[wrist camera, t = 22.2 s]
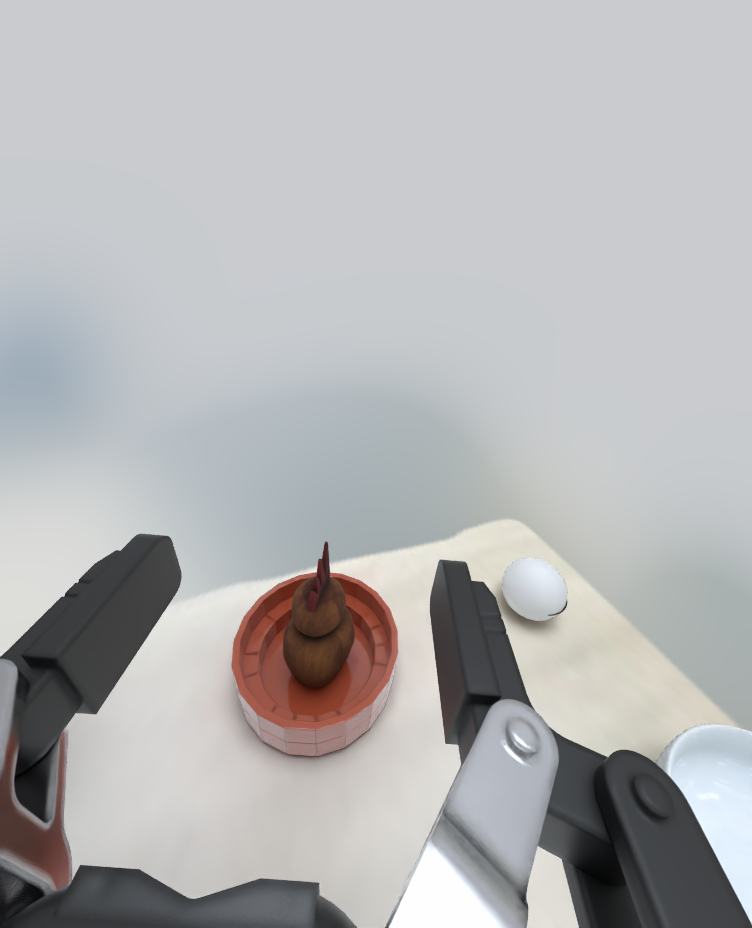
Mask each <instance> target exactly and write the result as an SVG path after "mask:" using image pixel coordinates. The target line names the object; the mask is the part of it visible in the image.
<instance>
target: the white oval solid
mask: <svg viewBox="0 0 752 928" xmlns="http://www.w3.org/2000/svg"><path fill="white" fill-rule="evenodd" d="M502 591H503V594H504V597H505V599H506V601H507V603H508V605H509V606H510V607H511V608H512V609H513V610H514V611H515V612H516V613H518V614H519V615H521V616H523V617H525V618H527V619H530V620H534V621H545V620H549V619H551V618H554V617H556V616H557V615H558V614H560V613H561V612H563V611H564V610H565V608H566V606H567V594H568V592H567V587H566V583H565V580H564V578H563V577H562V575H561V574H560V573H559V571H558V570H557V569H556V568H555V567H554V566H553V565H551V564H550V563H548V562H546V561H544V560H541V559H537V558H522V559H519V560H517V561H515V562H513V563H512V564H511V565H510V566H509V567H508V568H507V569H506V571H505V573H504V576H503V579H502Z"/></svg>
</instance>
